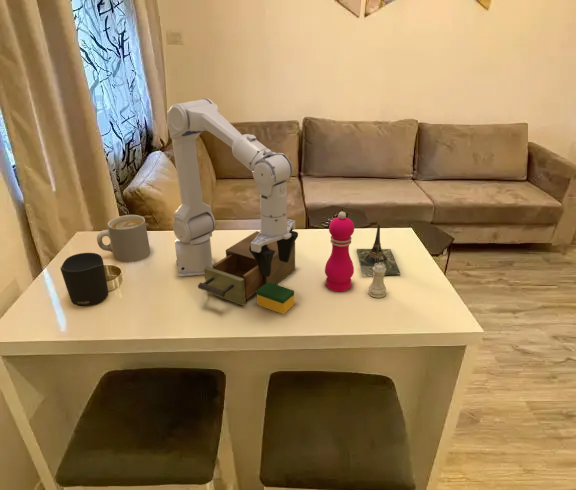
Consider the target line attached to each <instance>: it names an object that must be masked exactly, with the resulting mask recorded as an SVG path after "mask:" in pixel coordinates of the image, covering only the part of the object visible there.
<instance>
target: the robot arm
mask: <svg viewBox="0 0 576 490" xmlns="http://www.w3.org/2000/svg"><path fill="white" fill-rule="evenodd" d="M166 119H167V124H168V132H169V138H170V139H171V143H172V149H173V156H174V163H175V164H174V165H175V170H176V175H177V182H178V190H179V196H180V202H181V203H180V204H179V206H178V207H177V209H176V210H175V211H174V212H173V226H172V227H173V233H174V235H175V237H176V239H175V240H174V248H175V255H176V256H175V257H176V260H175V264H176V267H177V270H178V277H179V278H180V277H181V278H183V277H191V276H201V275H205V273H204V268H205V267H207V266H208V267H211V268H213V265H214V264H215V262H214V258H213V256H212V255H213V254H212V245H211V244H212V243H211V237H213V232H214V231H215V230H216V226H217V225H216V218H215V217H214V215H213V210H212V206H210V205H209V204H207V203H205V202H204V201H203V199H204V198H203V191H202V183H201V177H200V169H199V161H198V154H197V146H196V145H197V144H196V140H197V138H199V136H200V135H201V134H202V133H203V132H206V131H207V132H209V133H210V134H211V135H213V136H214V137H216V138H217V139H219V140H220V141H222V142H223V143H224V144H226V145H227V146H229V147H230V148H231V153H232V156H233V157H234V158H235V159H236V160H237V161H238V162H240V163H241V164H242V165H243V166H244V167H246V168H247V169H248V170H249V171H250V172H252V173H251V174H252V178H253V180H254V182H255V183H256V191H257V192H258V195H259V211H260V212H259V213H260V215H259V217H260V230H259V231H258V232H259V233H258V235H257V237H256V238H255V240H254V241H252V242H251V246H249V251H250V252H251V253H252V255H253V256H254V258H255V260H256V262H257V264H258V267H259V270H260V273H261V275H264V276H267V277H269V276H270V273H271V263H272V258H273V255H274V253H275V251H274V250H271V249H269V247H267V245H268V244H269V243H272V242H275V241H277V246H278V254H279V260H280V261H283V262H286V263H287V262H288V261H289V258H290V254H291V250H292V247H293V244H294V242H295V243H296V241H297V239H298V237H299V232H298V231H295V229H296V220H293V219H289V218H288V181H289V180H290V179H291V177H292V176H293V172H294V171H293V170H294V169H293V164H292V161H291V160H290V159H289V157H288V156H287V155H286V154H285V153H282V152H275V151H272V149H270V148H268V147H266V146H265V145H264V144H262V143H261V142H260V141H259V140H257V137H256V136H255V135H254V134H251V133H250V134H249V133H245V134H242V133H241V132H240V131H239V130H237V128H235V126H234V125H232V124H231V122H229V121H228V120H227V118H226V117H224V116H223V115H222V114H221V113H220V109H219V106H218V105H217V103H214V102H213V101H212V100H211V99H210V98H208V97H203V98H200V99H197V100H192V101H191V100H190V101H186V102H180V103H173V104H171V106H170V107H169V108H168V110H167V111H166Z"/></svg>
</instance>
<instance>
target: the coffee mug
mask: <svg viewBox="0 0 576 490" xmlns="http://www.w3.org/2000/svg"><path fill="white" fill-rule="evenodd" d="M107 228H108V229H103V230H101V231H99V232H98V233H97V235H96V242H97V245H98V247H99V248H100V249H101V250H102V251H105V252H110V253H112V254H113V257H114V259H115V260H116V261H119V262H122V263H134V262H138V261H141V260H144V259H146V258H148V257H149V255H150V254H151V247H150V241H149V235H148V230H147V224H146V219H145V217H144V216H142V215H139V214H125V215H120V216H116V217H114V218H112V219H110V220H109V221H108V222H107ZM104 237H108V238H109V240H110V241H109V243H108V244H105V243H104V242H103V238H104Z"/></svg>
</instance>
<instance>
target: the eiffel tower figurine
mask: <svg viewBox="0 0 576 490" xmlns="http://www.w3.org/2000/svg"><path fill="white" fill-rule="evenodd" d="M380 218H381V217H379V220H378V221H377V229H376V233H375V238H374V239H375V240H374V243H373V246H372V247H371V248H356V252H357V253H356V254H357V258H358V260H359V264H360V269H361V276H362V277H363V278H364V277H365V278H366V277H374V275H373V273H374V270H373V267H374V265H375V264H376V263H377V265H378V264H379V263H381V265H382V264H384V265H385V268H386V271H385V272H384V274H385V276H387V275H388V276H389V275H401V270H400V268H399V267H398V264H397V261H396V258H395V256H394V253H393V252H392V249H391V248H382V246H381V245H382V244H381V221H380V220H381V219H380Z"/></svg>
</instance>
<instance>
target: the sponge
mask: <svg viewBox="0 0 576 490" xmlns="http://www.w3.org/2000/svg"><path fill="white" fill-rule="evenodd" d="M256 305H257V306H259V307H262V308H265V309H267V310H270V311H273V312H276V313H278V314H281V315H285V314H286V313H287V312H288V311H289V310H290V309H291V308H293V306H294V305H295V290H293V289H291V288H288V287H284V286H281V285H278V284H273V283H270V282H267V283H266V284H265V285H264V286H262V287H261V288H260V289H258V290H257V292H256Z"/></svg>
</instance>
